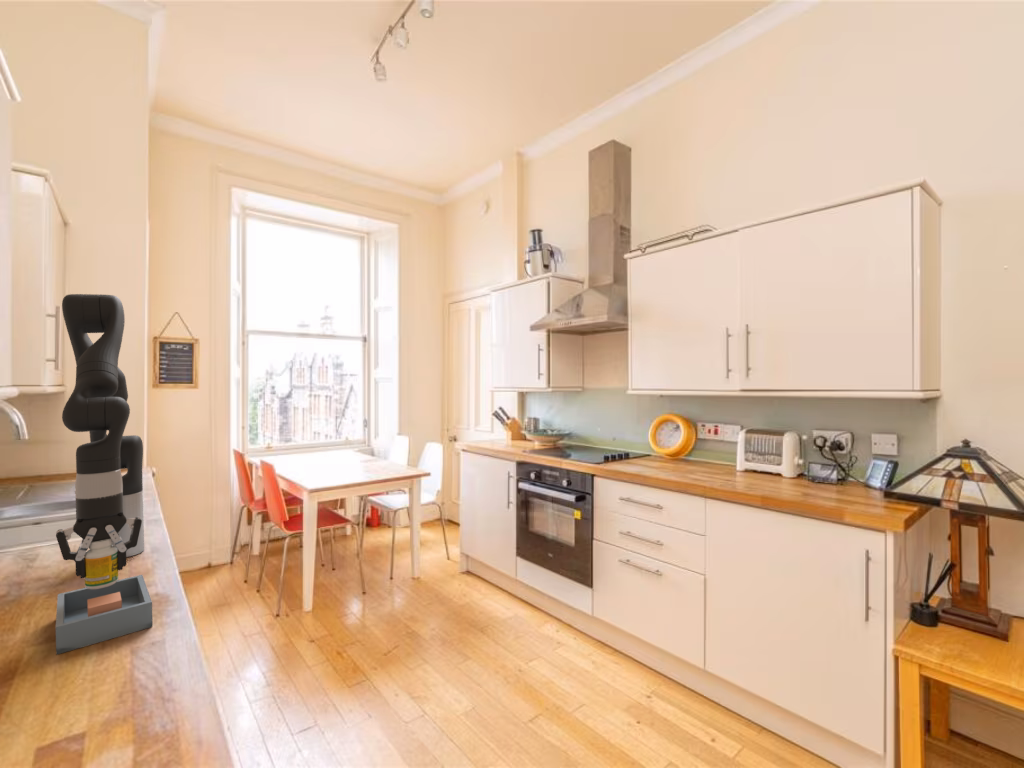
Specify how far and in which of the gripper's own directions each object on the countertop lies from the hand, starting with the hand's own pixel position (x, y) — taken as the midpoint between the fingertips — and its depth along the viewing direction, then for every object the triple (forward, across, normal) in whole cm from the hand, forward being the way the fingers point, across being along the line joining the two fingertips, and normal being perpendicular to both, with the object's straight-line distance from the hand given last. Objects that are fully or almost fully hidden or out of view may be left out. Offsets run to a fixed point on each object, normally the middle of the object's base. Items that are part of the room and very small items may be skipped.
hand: (101, 572), depth 101 cm
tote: (+9, 0, -4) cm, 10 cm away
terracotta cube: (+8, 0, -8) cm, 11 cm away
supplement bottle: (+3, 0, 0) cm, 3 cm away
